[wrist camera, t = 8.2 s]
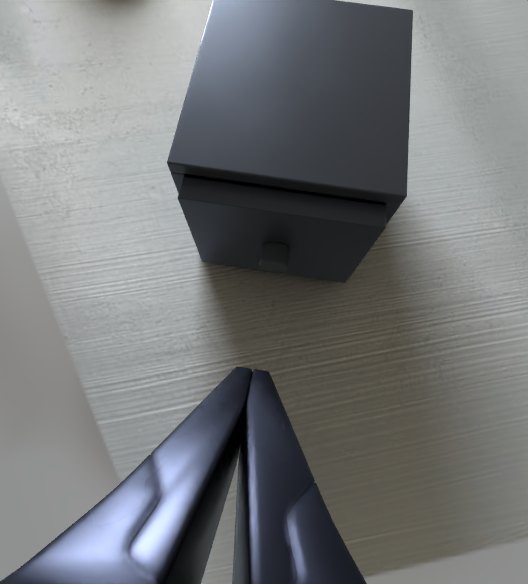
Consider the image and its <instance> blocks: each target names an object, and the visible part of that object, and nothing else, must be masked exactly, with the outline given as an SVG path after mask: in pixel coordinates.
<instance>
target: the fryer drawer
mask: <svg viewBox="0 0 528 584" xmlns="http://www.w3.org/2000/svg"><path fill="white" fill-rule="evenodd" d="M178 200H179V202H180V205H181V207H182V210H183V213H184V215H185V218H186V220H187V223H188V226H189V228H190V231H191V233H192V236H193V239H194V241H195V244H196V246H197V249H198V251H199V254H200V257H201V259H202V261H203V262H210V263H216V264H223V265H230V266H236V267H243V268H250V269H256V270H263V271H269V272H275V273H283V274H290V275H296V276H303V277H310V278H316V279H323V280H330V281H336V282H343V283H346V281H347V280H348V278H349V277H350V276H351V274H352V273H353V272H354V270H355V269H356V267H357V266H358V265H359V263H360V262H361V261H362V259H363V258H364V257H365V255H366V254H367V252H368V251H369V250H370V248H371V247H372V246H373V244H374V243H375V241H376V240H377V239H378V237H379V236H380V235H381V233H382V232H383V230H384V229H385V227H386V208H387V207H386V206H384V205H377V204H370V203H364V201H365V199H358V198H351V197H344V196H337V195H330V194H323V193H316V192H309V191H302V190H295V189H288V188H281V187H274V186H267V185H260V184H253V183H246V182H239V181H232V180H225V179H218V178H211V177H206V180H203V179H196V178H189V177H183V180H182V184H181V187H180V191H179V195H178Z"/></svg>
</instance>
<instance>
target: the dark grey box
mask: <svg viewBox="0 0 528 584" xmlns="http://www.w3.org/2000/svg"><path fill="white" fill-rule="evenodd" d="M412 21H413V10H408V9H400V8H392V7H384V6H376V5H368V4H360V3H353V2H345V1H337V0H213V2H212V5H211V9H210V12H209V16H208V19H207V23H206V27H205V30H204V34H203V37H202V41H201V44H200V48H199V51H198V55H197V58H196V62H195V65H194V69H193V73H192V76H191V80H190V83H189V87H188V90H187V94H186V97H185V101H184V104H183V108H182V111H181V115H180V118H179V122H178V126H177V129H176V133H175V136H174V140H173V143H172V147H171V150H170V154H169V157H168V161H167V164H168V167H169V169H170V171H171V175H172V177H173V180H174V183H175V185H176V188H177V191H178V193H179V191H180V187H181V184H182V180H183V177H189V178H196V179H203V180H206V177H211V178H218V179H225V180H232V181H239V182H246V183H253V184H260V185H267V186H274V187H281V188H288V189H295V190H302V191H309V192H316V193H323V194H330V195H337V196H344V197H351V198H358V199H365V201H364V203H370V204H377V205H384V206H386V207H387V208H386V224H387V223H388V222H389V220H390V219H391V218H392V216H393V215H394V213H395V212H396V211H397V209H398V208H399V206H400V204H402V202H403V201H404V200H405V198H406V197H407V169H408V139H409V110H410V80H411V51H412Z"/></svg>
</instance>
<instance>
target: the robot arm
mask: <svg viewBox="0 0 528 584" xmlns="http://www.w3.org/2000/svg"><path fill="white" fill-rule="evenodd" d="M239 451H240V453H239ZM238 456H239V463H238V480H237V500H236V521H235V541H234V562H233V582H232V584H366V582H365V580H364V578H363V576H362V575H361V573H360V571H359V569H358V567H357V566H356V564H355V562H354V560H353V558H352V557H351V555H350V553H349V551H348V549H347V547H346V545H345V544H344V542H343V540H342V538H341V536H340V534H339V532H338V530H337V528H336V527H335V525H334V523H333V520H332V518H331V516H330V514H329V512H328V509H327V507H326V505H325V503H324V501H323V498H322V496H321V494H320V491H319V489H318V487H317V484H316V483H314V481H315V480H314V477H313V475H312V473H311V470H310V468H309V466H308V463H307V461H306V459H305V456H304V454H303V451H302V449H301V447H300V444H299V442H298V440H297V437H296V435H295V432H294V430H293V428H292V425H291V423H290V421H289V418H288V416H287V413H286V411H285V409H284V406H283V404H282V402H281V399H280V397H279V394H278V392H277V390H276V387H275V385H274V383H273V380H272V378H271V375H270V373H269V372H268V371H263V370H257V369H254V370H253V371H252V369H250V368H244V367H236V368H235V369H234V370H233V371H232V372H231V373H230V374H229V375H228V376H227V377H226V378H225V379H224V380H223V381H222V382H221V383H220V384H219V385H218V386H217V387H216V388H215V389H214V390H213V391H212V392H211V393H210V394H209V395H208V396H207V397H206V398H205V399H204V400H203V401H202V402H201V403H200V404H199V405H198V406H197V407H196V408H195V409H194V410H193V411H192V412H191V413H190V414H189V415H188V416H187V417H186V418H185V419H184V420H183V421H182V422H181V423H180V424H179V425H178V427H177V428H176V429H175V430H174V431H173V432H172V433H171V434H170V435H169V436H168V437H167V438H166V439H165V440H164V441H163V442H162V443H161V444H160V445H159V446H158V447H157V448H156V449H155V450H154V451H153V452H152V453H151V455H149V456H148V457H147V458H146V459H145V460H144V461H143V462H142V463H141V464H140V465H139V466H138V467H137V468H136V469H135V470H134V471H133V472H132V473H131V474H130V475H129V476H128V477H127V478H126V479H125V480H124V481H122V482H121V483H120V484H119V485H118V486H117V487H116V488H115V489H114V490H113V491H112V492H110V494H108V495H107V496H106V497H105V498H103V499H102V500H101V501H100V502H99V503H98V504H96V505H95V506H94V507H93V508H92V509H91V510H89V511H88V512H87V513H86V514H84V515H83V516H82V517H81V518H80V519H78V520H77V521H76V522H75V523H74V524H72V525H71V526H70V527H69V528H68V529H66V530H65V531H64V532H63V533H61V534H60V535H59V536H58V537H57V538H55V540H53V541H52V542H51V543H49V544H48V545H47V546H46V547H45V548H43V549H42V550H41V551H40V552H39V553H37V554H36V555H35V556H34V557H33V558H31V559H30V560H29V561H28V562H26V563H25V564H24V565H23V566H21V567H20V568H19V569H17V570H16V571H15V572H13V573H12V574H11V575H9V576H8V577H6V578H5V579H3V580H2V581H0V584H201V581H202V578H203V574H204V571H205V568H206V564H207V561H208V558H209V554H210V551H211V548H212V544H213V541H214V538H215V534H216V531H217V528H218V524H219V521H220V518H221V514H222V511H223V508H224V504H225V501H226V498H227V494H228V491H229V488H230V484H231V481H232V478H233V474H234V471H235V467H236V464H237V460H238Z"/></svg>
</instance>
